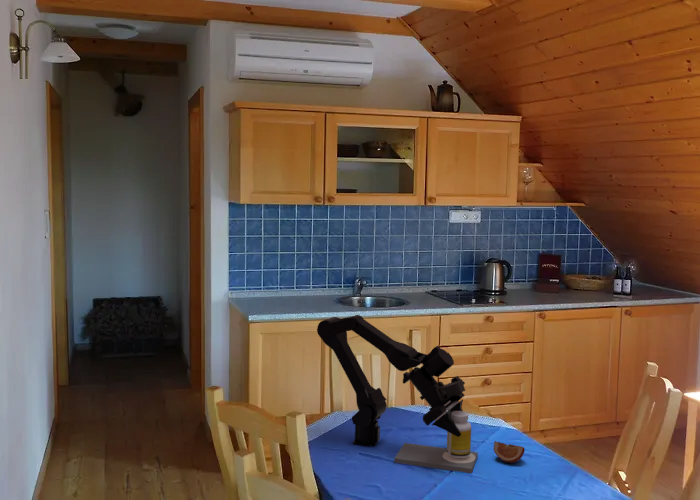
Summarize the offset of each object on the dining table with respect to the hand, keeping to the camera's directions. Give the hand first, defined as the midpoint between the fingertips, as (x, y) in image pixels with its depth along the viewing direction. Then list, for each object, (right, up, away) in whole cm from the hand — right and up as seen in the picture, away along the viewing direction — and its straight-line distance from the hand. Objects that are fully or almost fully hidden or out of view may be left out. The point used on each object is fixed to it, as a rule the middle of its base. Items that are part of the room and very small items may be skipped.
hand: (463, 432), depth 197 cm
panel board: (-7, -8, +2) cm, 11 cm away
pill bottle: (-1, -7, +1) cm, 7 cm away
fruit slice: (+13, -9, +2) cm, 16 cm away
